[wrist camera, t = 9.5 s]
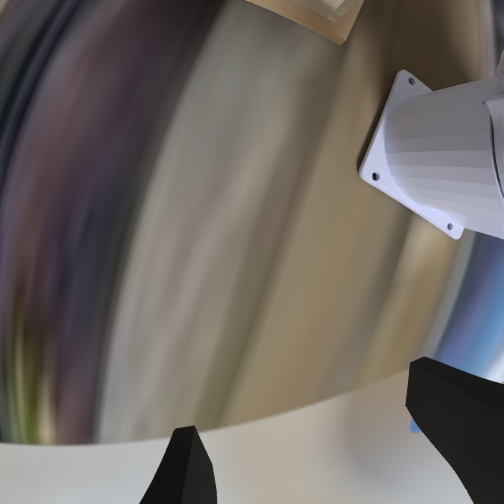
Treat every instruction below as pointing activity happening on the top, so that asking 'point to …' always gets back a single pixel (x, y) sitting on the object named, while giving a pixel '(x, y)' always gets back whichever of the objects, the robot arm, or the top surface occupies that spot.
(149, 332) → the top surface
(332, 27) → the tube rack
